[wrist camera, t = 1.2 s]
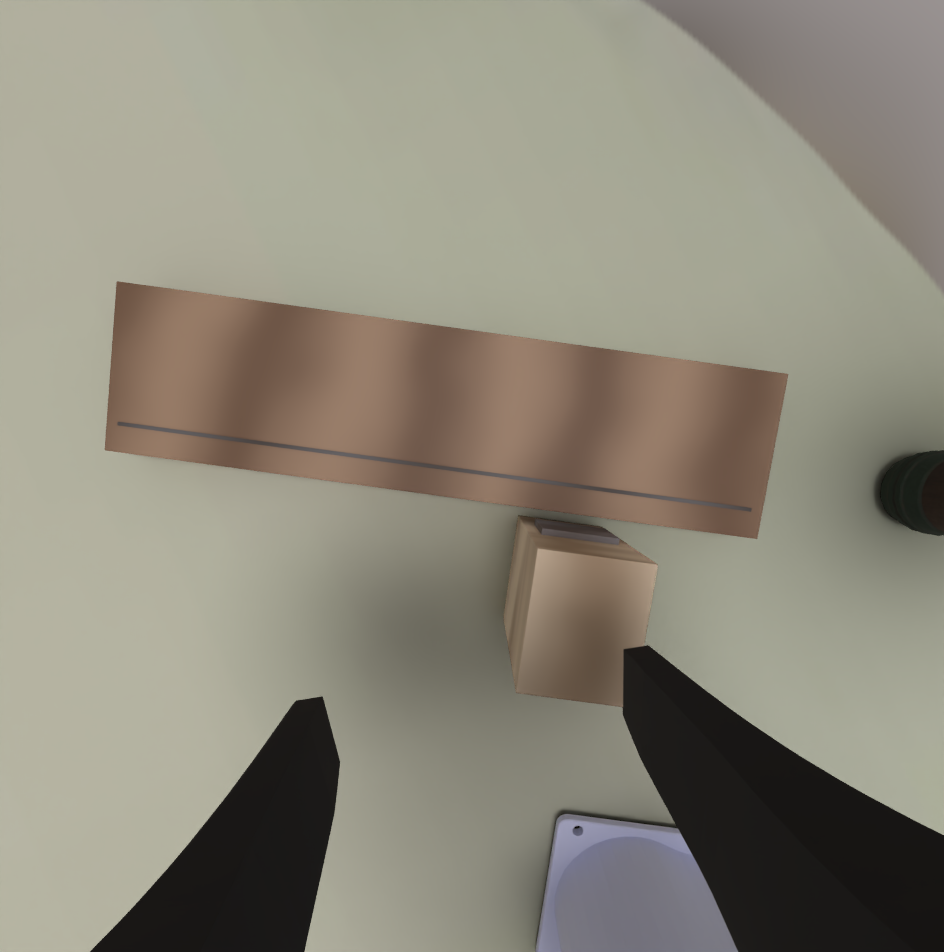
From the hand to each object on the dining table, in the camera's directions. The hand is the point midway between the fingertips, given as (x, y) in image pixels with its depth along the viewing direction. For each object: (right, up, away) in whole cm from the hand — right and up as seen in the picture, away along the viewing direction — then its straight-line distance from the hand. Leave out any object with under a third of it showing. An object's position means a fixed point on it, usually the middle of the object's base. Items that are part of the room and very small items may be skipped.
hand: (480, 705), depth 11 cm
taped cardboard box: (+4, +1, +11) cm, 11 cm away
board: (-1, +8, +10) cm, 13 cm away
